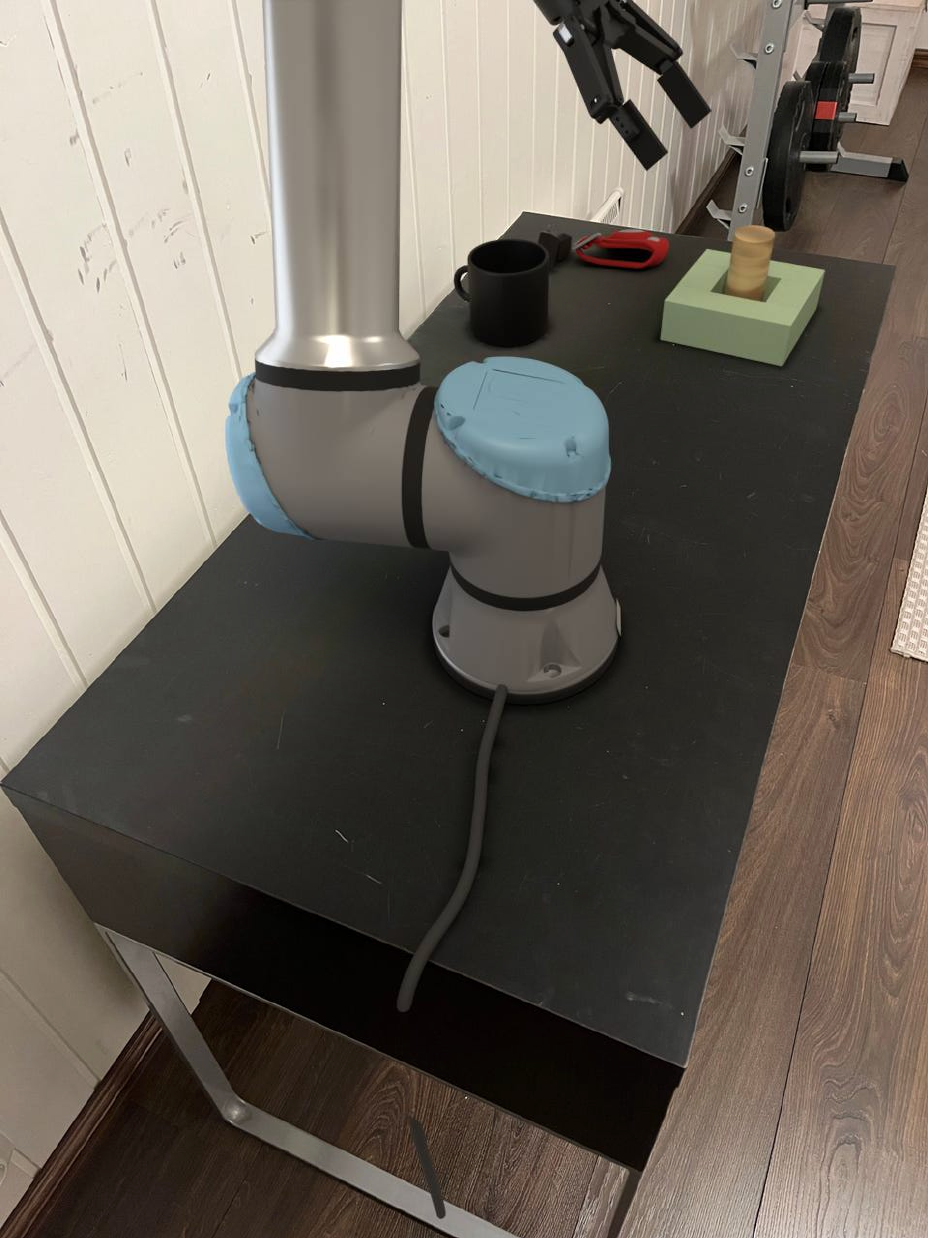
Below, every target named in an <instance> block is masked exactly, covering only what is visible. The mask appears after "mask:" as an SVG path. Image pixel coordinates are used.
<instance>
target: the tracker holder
mask: <svg viewBox="0 0 928 1238" xmlns="http://www.w3.org/2000/svg"><path fill="white" fill-rule="evenodd" d="M602 236H603V235H602V233H601V232H597V233H594V234H593V235H587V236H583V237H581V238H580V239H578V240H576V241H575V242H574V243H573V244H572V247H571V251H572V252H573V251H575V253H576V254H577V257H578V258H580V259H581V260H583V261H585V262H587V263H591V264H594V265H600V266H606V267H616V268H626V269H636V270H638V269H648V268H654V267H656V266H658V265H660V264H661V263H662V262H663V261H664V260H665V259H666V257H667V255H668V252H669V249H670V243H669V240H668V239H667V238H666V237H661V236H656V235H653V234H652V233H651V232H649V231H647V230H642V229H635V228H628V229H621V230H616V231H613V232H611V234H609V236H608V235H607V236H603V237H602ZM593 245H594V246H595V247H599V248H604V249H639V250H646V251H648V252H650V253H651V256H650V258H649V259H648V260H646V261H645V262H637V261H627V260H617V259H608V258H607V259H606V258H597V257H593V256H591V255H587V254H586V253H584V252H583V251H582V250H584V251H585V250H587V251H588V250H589V249H591V248H592V247H593Z"/></svg>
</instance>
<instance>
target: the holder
mask: <svg viewBox="0 0 928 1238" xmlns="http://www.w3.org/2000/svg"><path fill="white" fill-rule="evenodd" d="M730 257H731V252H726V251H721V250H715V249H710V248H706V249H705V250H704V252H703V253H702V254H701V255H700V256H699V258H698V259H697V260H696V261H695V262H694V264H693V265H692V266H691V267H690V269H689V270H688V271H687V272H686V273H685V275H684V276H683V277H682V278H681V280H680V281H679V282H678V283H677V284H676V286H675V287H674V289H672V291H671V292H670V293H669V295H667V297H666V298H665V299H664V305H663V312H662V322H661V331H660V341H664V342H669V343H673V344H678V345H683V346H687V347H692V348H697V349H701V350H705V351H711V352H715V353H720V354H724V355H728V356H733V357H737V358H742V359H746V360H750V361H756V362H759V363H760V362H761V363H764V364H769V365H773V366H777V367H783V365H784V364H785V362H786V361H787V359H788V357H789V356H790V354H791V352H792V351H793V349H794V347H795V346H796V344H797V342H798V341H799V339H800V337H801V335H802V334H803V332H804V330H805V328H806V327H807V325H808V324H809V322H810V320H811V318H812V317H813V315H814V314H815V312H816V310H817V307H818V303H819V298H820V295H821V289H822V285H823V281H824V278H825V274H826V273H825V272H826V270H825V269H821V268H816V267H810V266H806V265H798V264H793V263H788V262H783V261H777V260H772V259H771V260H770V265H769V270H768V276H767V281H766V286H765V291H764V297H763V302H759V301H754V300H749V299H744V298H739V297H734V296H729V295H725V289H726V282H727V276H728V270H729V263H730Z"/></svg>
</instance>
